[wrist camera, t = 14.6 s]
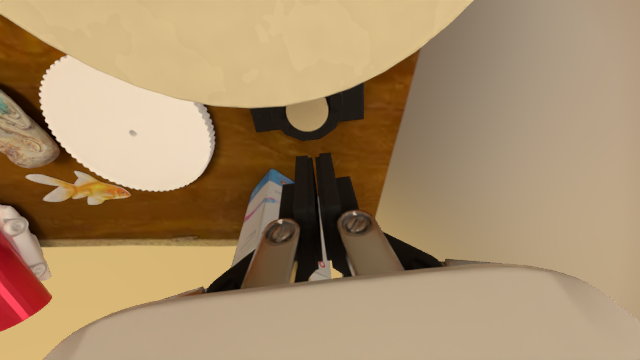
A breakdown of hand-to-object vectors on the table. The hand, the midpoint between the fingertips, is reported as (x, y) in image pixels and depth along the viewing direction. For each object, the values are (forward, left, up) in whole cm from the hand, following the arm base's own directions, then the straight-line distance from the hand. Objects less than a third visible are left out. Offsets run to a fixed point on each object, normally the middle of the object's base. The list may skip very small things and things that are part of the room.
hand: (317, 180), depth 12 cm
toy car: (-40, -13, -12) cm, 43 cm away
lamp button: (0, 0, -12) cm, 12 cm away
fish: (-29, -10, -15) cm, 34 cm away
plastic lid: (-17, -1, -15) cm, 23 cm away
